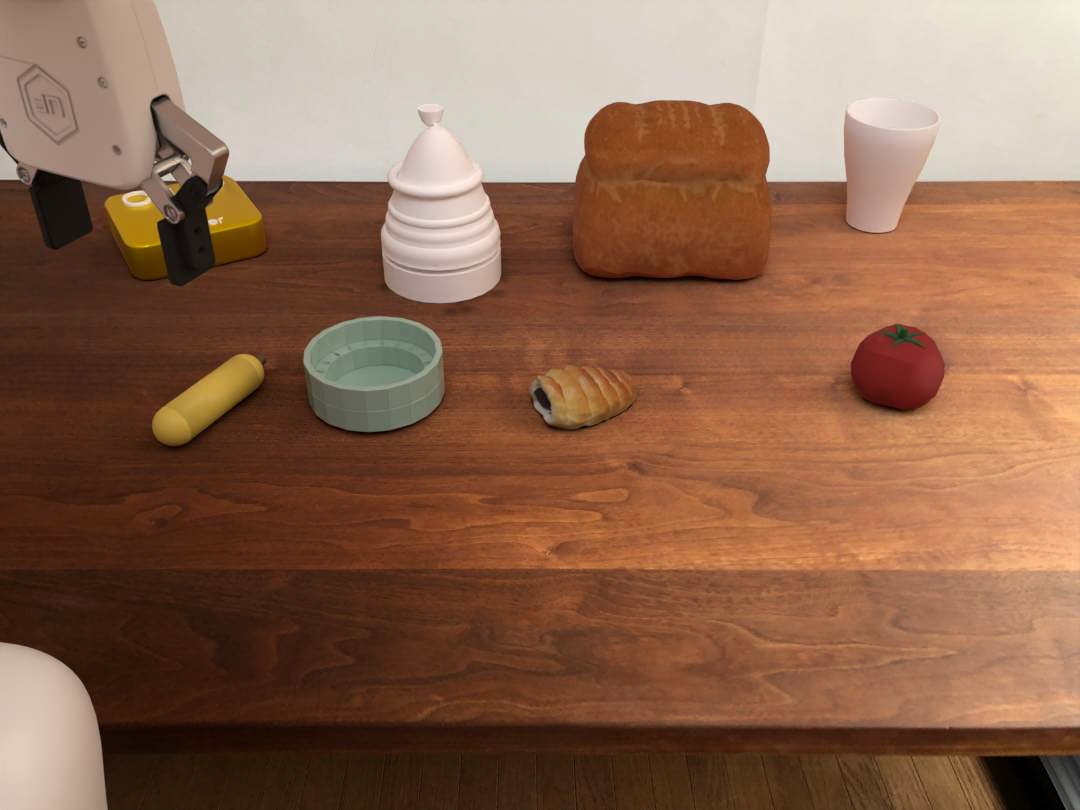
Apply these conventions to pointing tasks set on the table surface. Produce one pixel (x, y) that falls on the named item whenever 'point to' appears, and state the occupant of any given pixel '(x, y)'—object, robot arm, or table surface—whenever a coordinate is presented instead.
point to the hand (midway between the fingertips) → (130, 257)
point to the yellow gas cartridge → (208, 399)
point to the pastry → (581, 395)
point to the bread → (673, 192)
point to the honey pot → (439, 221)
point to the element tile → (137, 217)
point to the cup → (884, 158)
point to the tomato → (898, 367)
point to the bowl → (374, 373)
